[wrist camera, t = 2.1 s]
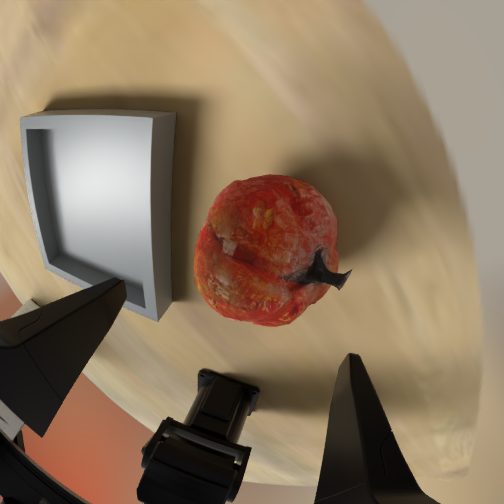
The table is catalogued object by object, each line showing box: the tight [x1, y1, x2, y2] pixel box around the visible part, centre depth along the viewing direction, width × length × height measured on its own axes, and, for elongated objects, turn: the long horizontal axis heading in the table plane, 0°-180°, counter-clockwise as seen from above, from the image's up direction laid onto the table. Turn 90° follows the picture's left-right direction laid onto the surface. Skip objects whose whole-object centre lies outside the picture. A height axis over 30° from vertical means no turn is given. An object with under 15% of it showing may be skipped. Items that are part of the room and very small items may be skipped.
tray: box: [20, 109, 177, 322], centre depth 19 cm, size 15×14×2 cm
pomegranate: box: [194, 174, 353, 327], centre depth 14 cm, size 7×7×10 cm
